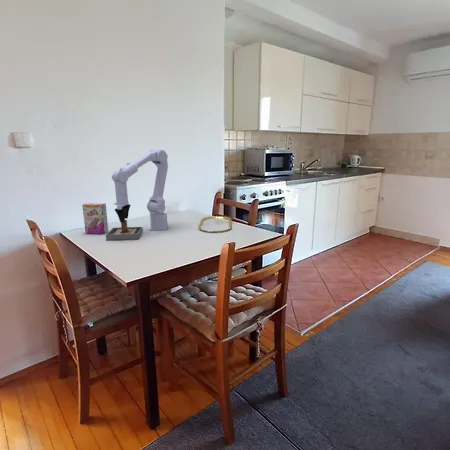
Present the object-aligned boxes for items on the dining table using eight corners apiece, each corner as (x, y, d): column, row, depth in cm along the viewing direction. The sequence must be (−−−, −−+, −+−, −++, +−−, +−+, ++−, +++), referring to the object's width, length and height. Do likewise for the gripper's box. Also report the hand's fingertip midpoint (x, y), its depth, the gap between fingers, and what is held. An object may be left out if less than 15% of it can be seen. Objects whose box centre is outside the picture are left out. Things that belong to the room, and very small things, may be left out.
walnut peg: (128, 234, 174) (127, 219, 172) (127, 236, 171) (126, 221, 169) (122, 234, 174) (121, 220, 172) (121, 236, 171) (120, 221, 169)
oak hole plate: (136, 232, 178) (136, 228, 177) (133, 237, 168) (132, 234, 167) (118, 232, 177) (117, 229, 176) (113, 238, 167) (112, 234, 167)
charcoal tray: (143, 232, 180) (142, 226, 179) (138, 239, 166) (137, 234, 166) (113, 232, 179) (112, 227, 178) (106, 240, 165) (105, 234, 165)
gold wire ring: (231, 218, 211) (231, 216, 210) (231, 233, 177) (231, 231, 176) (202, 218, 211) (202, 216, 211) (196, 233, 177) (196, 231, 177)
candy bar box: (85, 234, 177) (81, 204, 173) (89, 231, 182) (86, 202, 178) (104, 234, 176) (101, 204, 172) (109, 231, 181) (106, 202, 177)
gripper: (117, 192, 174) (119, 217, 177) (109, 197, 160) (112, 223, 163) (130, 192, 174) (132, 216, 178) (124, 196, 160) (127, 223, 164)
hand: (124, 220), depth 170 cm, fingers open, 7 cm apart
